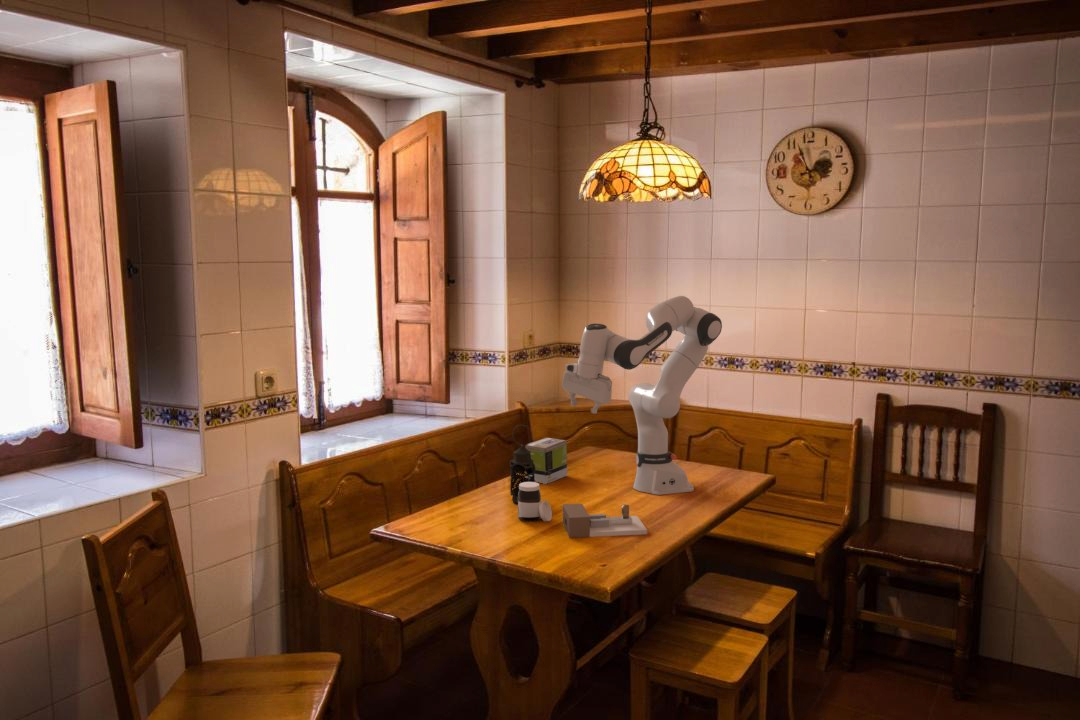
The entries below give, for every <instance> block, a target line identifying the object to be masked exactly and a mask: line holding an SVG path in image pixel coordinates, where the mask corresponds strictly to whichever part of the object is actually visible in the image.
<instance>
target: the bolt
mask: <svg viewBox="0 0 1080 720" xmlns="http://www.w3.org/2000/svg"><path fill="white" fill-rule="evenodd" d="M631 516H632V515H630V505H629V504H622V505H621V516H606V517H602V518H600V519H609V525H621V524H632V518H631Z"/></svg>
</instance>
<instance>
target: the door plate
mask: <svg viewBox="0 0 1080 720" xmlns="http://www.w3.org/2000/svg"><path fill="white" fill-rule="evenodd" d="M630 516H631V518H632V524H621V525H609V519H600V518H602V517H607V514H606V513H599V514H593V513H592V514H589V513H588V512H587V509H586V507H585V506H584V504H583V503H566V504H565V503H564V504H563V503H562V525H563V528H564V530H565V532H566V534H567V535H568V536H567V537H568V538H569V539H570V538H571V539H572V538H575V539H576V538H592V537H593V538H597V537H615V536H616V537H617V536H638V535H639V536H640V535H641V536H642V535H647V534H648V529H647V527H645V525H644V523H643V522H642V521H641V520H640V518H639V517H638V515H630Z"/></svg>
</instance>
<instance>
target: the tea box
mask: <svg viewBox="0 0 1080 720" xmlns="http://www.w3.org/2000/svg"><path fill="white" fill-rule="evenodd" d="M567 443H568V442H567V440H565V439H558V438H550V437H543V438H542V439H539V440H535V441H533V442H532V441H531V442H530V443H529V444H528V443H527V444H528V445H526V444H524V445H525V446H524V447H525V448H526V449H527V450H529V451H531V453H530V454H531V459H532V460H534V461H533V463H534V464H535V468H536V469H535V474H534V475H535V482H539V484H540V483H543V484H542V485H548V484H550V483H553V482H555V481H557V480H560V479H562V478H565V477H567V476H568V453H567V451H568V449H567V445H568V444H567ZM526 473H527V471H526V472H525V474H526ZM532 473H533V471H532ZM529 476H531V477H532V475H529ZM525 478H528V476H527V477H526V476H525ZM529 479H530V478H529ZM529 479H528V480H529ZM547 483H548V484H547Z"/></svg>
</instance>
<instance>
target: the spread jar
mask: <svg viewBox="0 0 1080 720" xmlns="http://www.w3.org/2000/svg"><path fill="white" fill-rule="evenodd" d="M518 487H519V489H520V490H519V492H518V504H517V516H518V519H519V520H521V521H523V520H524V521H523V522H535V520H536V521H538V520H540V519H542V521H543V522H546V523H547V522H551V520H552V519H553V512H552V507H551V505H550V503H549V502H548V501H547V500H542V497H541V496H542V495H541V491H540V483H536V482H523V483H520V484H519V486H518Z"/></svg>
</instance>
